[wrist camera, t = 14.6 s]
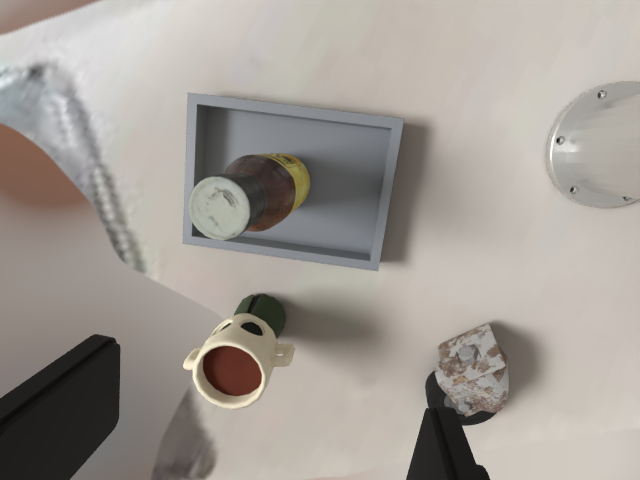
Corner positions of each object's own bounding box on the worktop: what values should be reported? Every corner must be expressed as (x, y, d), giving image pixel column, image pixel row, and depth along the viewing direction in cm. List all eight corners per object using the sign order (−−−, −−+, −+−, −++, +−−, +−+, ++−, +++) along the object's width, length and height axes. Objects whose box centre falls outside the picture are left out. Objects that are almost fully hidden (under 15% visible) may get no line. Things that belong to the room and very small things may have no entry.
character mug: (301, 286, 44) (283, 338, 32) (307, 338, 46) (291, 408, 33) (216, 291, 45) (165, 343, 33) (224, 342, 47) (179, 411, 34)
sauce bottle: (306, 148, 40) (266, 143, 21) (316, 203, 41) (289, 247, 22) (249, 159, 41) (160, 164, 21) (261, 213, 42) (188, 264, 23)
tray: (399, 121, 39) (404, 118, 36) (375, 261, 43) (378, 271, 40) (201, 97, 40) (187, 92, 37) (195, 236, 44) (182, 243, 41)
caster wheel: (444, 402, 49) (403, 356, 47) (526, 372, 45) (486, 319, 42) (453, 449, 44) (406, 400, 41) (547, 421, 39) (503, 362, 36)
